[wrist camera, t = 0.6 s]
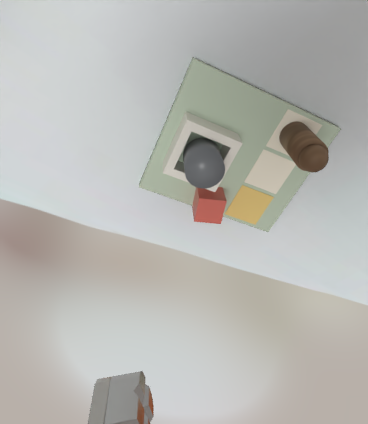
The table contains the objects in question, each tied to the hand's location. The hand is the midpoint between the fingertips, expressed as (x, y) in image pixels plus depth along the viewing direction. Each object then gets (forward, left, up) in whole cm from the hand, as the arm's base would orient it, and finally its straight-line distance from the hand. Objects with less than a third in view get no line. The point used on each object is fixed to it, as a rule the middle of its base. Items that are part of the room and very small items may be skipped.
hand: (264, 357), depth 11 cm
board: (+5, +9, -34) cm, 36 cm away
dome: (+6, +4, -31) cm, 32 cm away
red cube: (+12, +8, -33) cm, 36 cm away
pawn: (0, +14, -33) cm, 36 cm away
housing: (+6, +4, -33) cm, 34 cm away
